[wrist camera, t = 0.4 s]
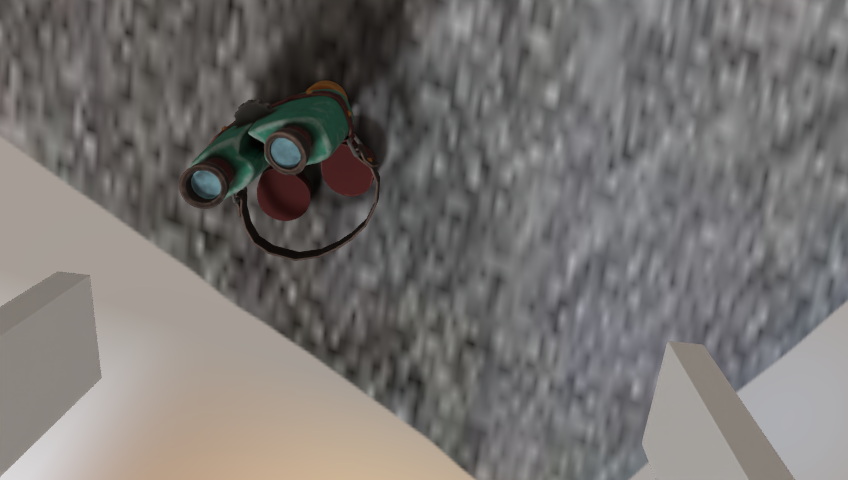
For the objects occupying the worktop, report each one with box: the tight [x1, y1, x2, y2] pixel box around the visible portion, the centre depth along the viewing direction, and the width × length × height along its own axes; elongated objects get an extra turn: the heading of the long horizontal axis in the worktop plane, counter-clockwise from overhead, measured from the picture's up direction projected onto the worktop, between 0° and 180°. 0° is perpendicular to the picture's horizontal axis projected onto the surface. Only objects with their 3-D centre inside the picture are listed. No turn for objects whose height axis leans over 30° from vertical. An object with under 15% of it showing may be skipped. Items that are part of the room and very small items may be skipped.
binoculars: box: [179, 80, 380, 261], centre depth 34 cm, size 9×11×10 cm
